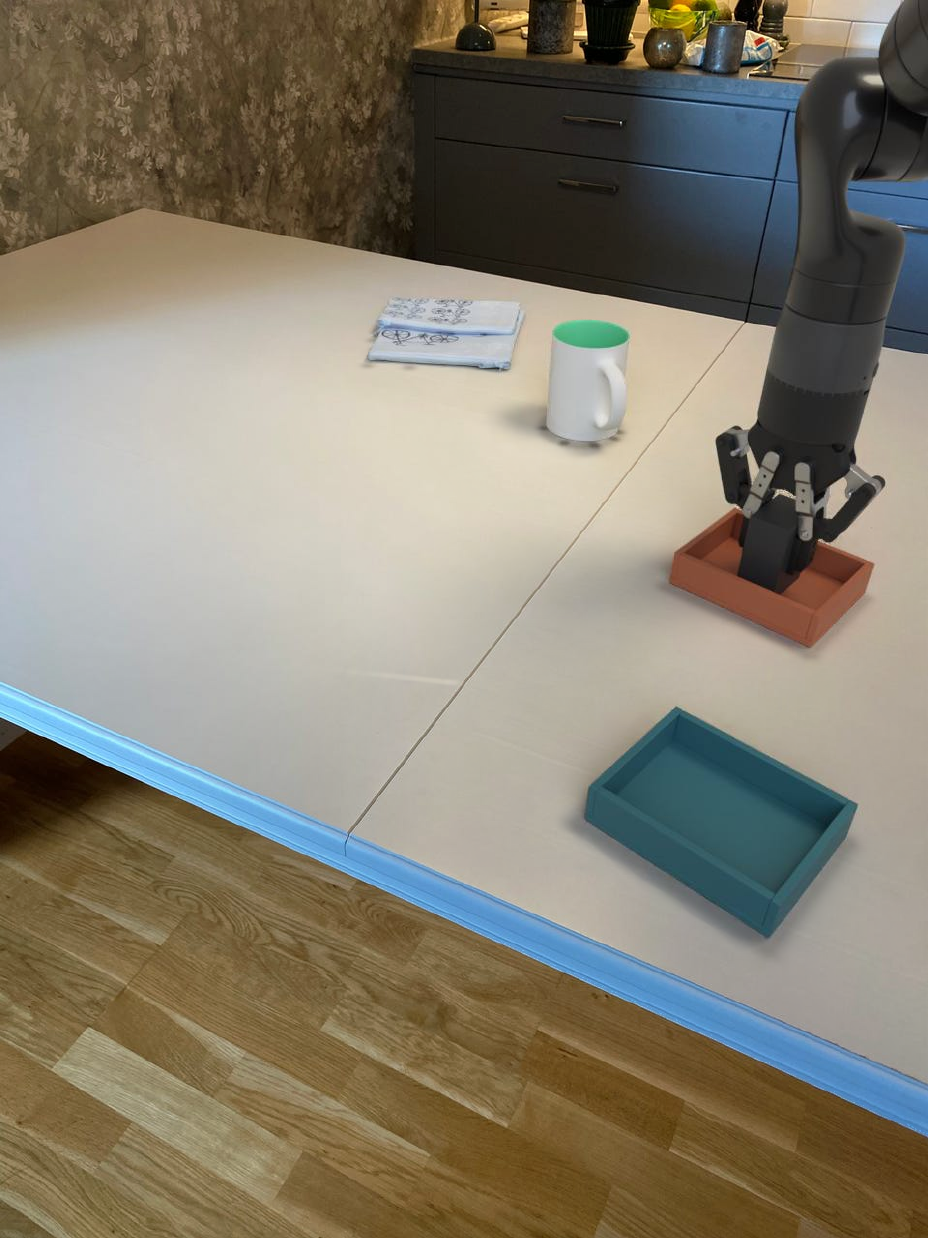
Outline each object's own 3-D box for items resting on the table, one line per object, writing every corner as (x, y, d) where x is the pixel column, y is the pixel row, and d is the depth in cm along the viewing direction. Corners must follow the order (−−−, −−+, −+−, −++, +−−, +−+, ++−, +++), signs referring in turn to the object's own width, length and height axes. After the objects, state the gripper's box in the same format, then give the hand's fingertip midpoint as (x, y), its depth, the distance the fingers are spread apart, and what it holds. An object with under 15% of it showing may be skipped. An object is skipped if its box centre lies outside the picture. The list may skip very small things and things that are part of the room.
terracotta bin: (865, 593, 84) (875, 563, 82) (810, 648, 77) (819, 617, 76) (728, 536, 90) (734, 507, 89) (668, 582, 84) (673, 552, 83)
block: (799, 577, 84) (818, 507, 80) (771, 603, 81) (789, 531, 77) (762, 562, 86) (779, 492, 82) (734, 586, 83) (749, 515, 79)
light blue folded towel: (525, 315, 135) (526, 299, 134) (510, 373, 119) (510, 356, 118) (390, 306, 137) (390, 291, 136) (357, 363, 121) (356, 346, 120)
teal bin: (846, 837, 62) (859, 804, 60) (769, 939, 56) (780, 906, 54) (669, 738, 69) (676, 705, 67) (583, 819, 63) (588, 786, 61)
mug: (651, 449, 104) (664, 356, 98) (584, 463, 101) (593, 367, 95) (597, 404, 113) (606, 315, 106) (534, 415, 110) (539, 325, 104)
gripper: (710, 355, 73) (676, 548, 84) (893, 413, 66) (831, 616, 76) (758, 329, 78) (721, 514, 88) (935, 379, 70) (871, 576, 81)
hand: (772, 560), depth 82 cm, fingers closed on block, 3 cm apart
